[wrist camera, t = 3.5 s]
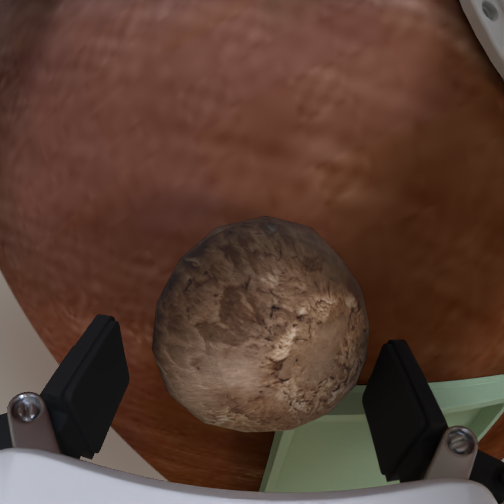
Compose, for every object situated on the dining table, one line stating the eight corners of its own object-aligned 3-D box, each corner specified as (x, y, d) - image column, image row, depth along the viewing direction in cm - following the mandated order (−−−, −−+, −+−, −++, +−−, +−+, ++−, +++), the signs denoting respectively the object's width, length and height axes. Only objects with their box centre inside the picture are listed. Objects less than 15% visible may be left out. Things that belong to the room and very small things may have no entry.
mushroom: (156, 413, 13) (195, 503, 7) (130, 232, 12) (147, 213, 7) (308, 375, 16) (397, 418, 10) (299, 221, 16) (399, 207, 10)
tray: (287, 382, 16) (287, 414, 14) (504, 373, 15) (516, 394, 13) (255, 503, 24) (253, 521, 22) (399, 496, 23) (402, 512, 21)
